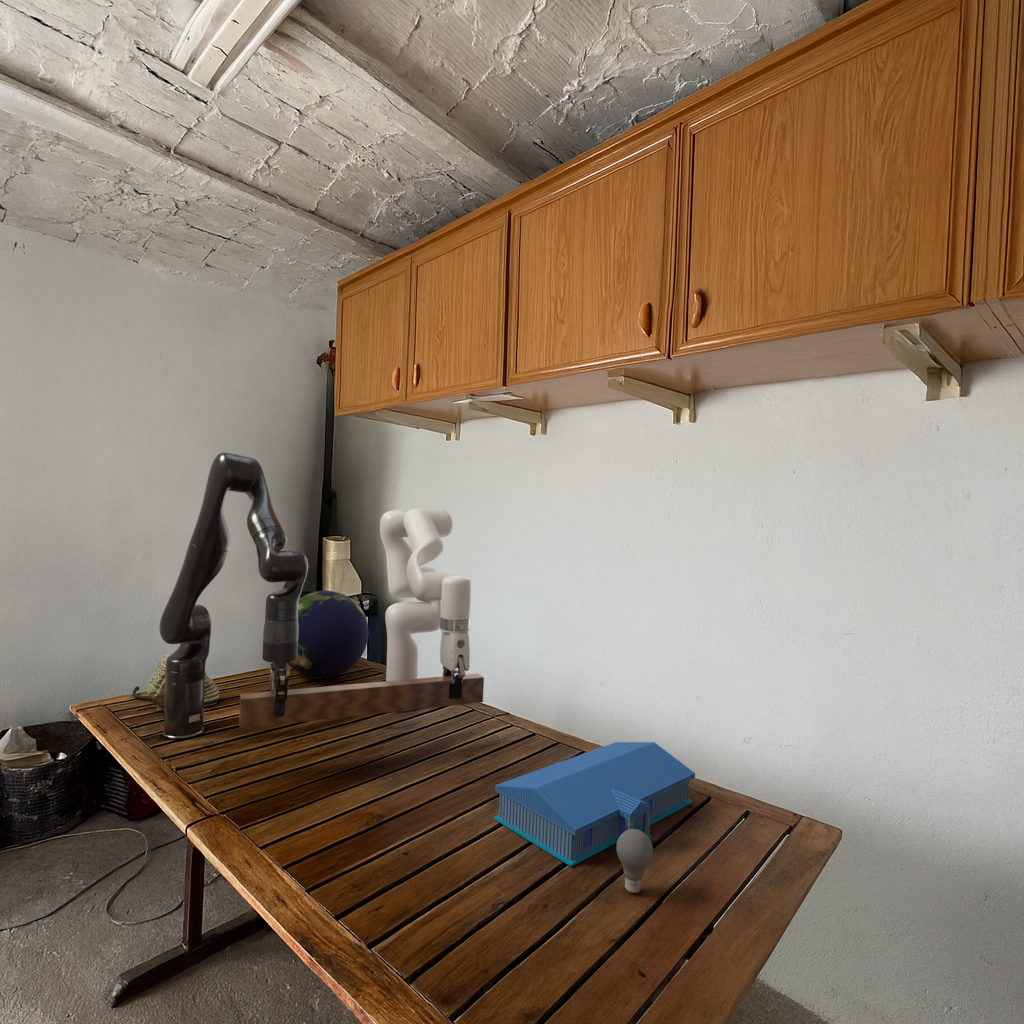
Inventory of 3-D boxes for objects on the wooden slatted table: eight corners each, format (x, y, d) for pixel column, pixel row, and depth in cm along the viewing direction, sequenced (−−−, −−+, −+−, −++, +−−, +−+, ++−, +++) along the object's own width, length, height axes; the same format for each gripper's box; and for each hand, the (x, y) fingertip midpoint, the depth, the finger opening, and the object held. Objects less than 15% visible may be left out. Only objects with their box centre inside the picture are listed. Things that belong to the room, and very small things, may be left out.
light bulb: (610, 879, 108) (613, 822, 108) (644, 879, 109) (647, 822, 109) (619, 902, 102) (622, 840, 102) (655, 901, 103) (658, 840, 103)
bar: (239, 728, 139) (240, 699, 139) (239, 722, 143) (240, 693, 142) (483, 702, 164) (484, 677, 164) (477, 697, 168) (478, 673, 168)
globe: (256, 681, 211) (260, 592, 211) (316, 661, 239) (319, 582, 238) (330, 695, 200) (333, 601, 199) (383, 673, 228) (386, 590, 227)
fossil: (144, 707, 182) (145, 655, 182) (212, 696, 194) (213, 647, 194) (151, 716, 175) (153, 662, 175) (221, 703, 188) (223, 653, 188)
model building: (584, 875, 109) (587, 817, 109) (492, 818, 128) (494, 769, 127) (705, 808, 136) (707, 762, 136) (614, 769, 154) (616, 728, 154)
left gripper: (302, 644, 139) (299, 721, 139) (294, 631, 152) (291, 702, 152) (265, 646, 136) (262, 725, 136) (260, 632, 149) (257, 705, 149)
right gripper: (481, 630, 156) (478, 704, 157) (456, 618, 171) (454, 685, 172) (452, 632, 153) (449, 707, 153) (430, 619, 168) (427, 687, 168)
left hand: (277, 712), depth 144 cm, fingers closed on bar, 4 cm apart
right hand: (451, 694), depth 163 cm, fingers closed on bar, 4 cm apart
